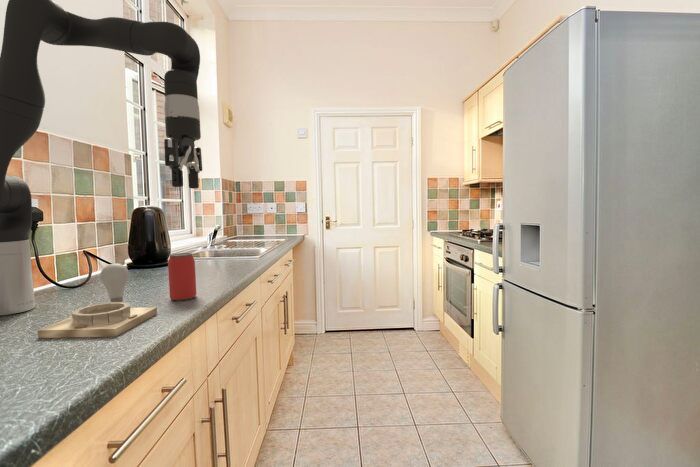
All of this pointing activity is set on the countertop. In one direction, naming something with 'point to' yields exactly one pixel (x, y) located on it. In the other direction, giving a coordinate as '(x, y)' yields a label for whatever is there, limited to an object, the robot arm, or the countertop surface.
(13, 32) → the robot arm
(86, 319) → the lamp holder
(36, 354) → the countertop surface
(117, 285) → the lightbulb
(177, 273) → the beer can
